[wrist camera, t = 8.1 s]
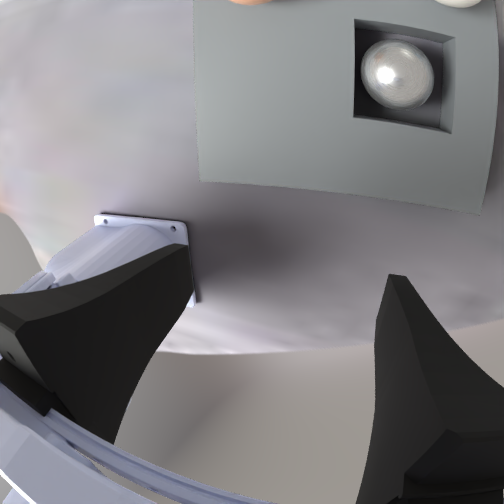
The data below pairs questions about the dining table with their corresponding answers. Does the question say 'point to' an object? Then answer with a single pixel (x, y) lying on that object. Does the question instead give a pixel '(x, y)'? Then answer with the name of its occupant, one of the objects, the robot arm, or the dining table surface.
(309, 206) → the dining table surface
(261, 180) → the hole plate
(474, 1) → the cream ball
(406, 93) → the steel ball
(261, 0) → the terracotta ball
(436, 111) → the dining table surface
